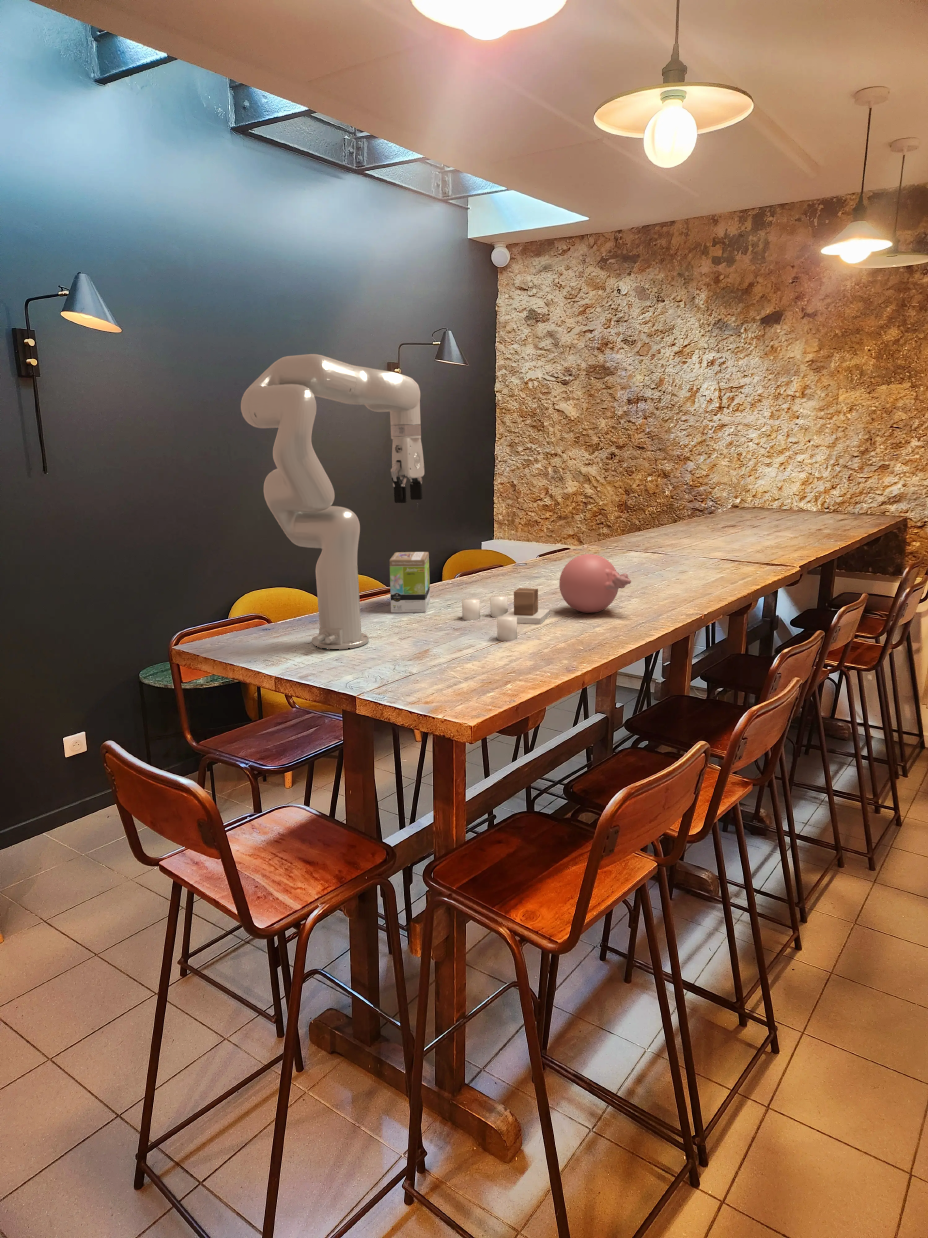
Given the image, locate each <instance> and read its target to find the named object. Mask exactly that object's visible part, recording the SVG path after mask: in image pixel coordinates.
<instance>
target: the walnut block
mask: <svg viewBox="0 0 928 1238" xmlns="http://www.w3.org/2000/svg"><path fill="white" fill-rule="evenodd" d="M513 608H514V615H528V616H533V615H535V614H536V613H537V612H538V609H539V589H538V588H533V587H532V588H530V587H529V588H528V587H519V588H517V589H515V590H514V591H513Z"/></svg>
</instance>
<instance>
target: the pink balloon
mask: <svg viewBox="0 0 928 1238" xmlns="http://www.w3.org/2000/svg"><path fill="white" fill-rule="evenodd" d="M559 576H560V577H559V591H560V594H561V597H562V599H563V600H564V602H565V603H566V604H567V606H569V607H571V609H573V610H575V611H577V612H580V613H584V614H594V613H598V612H602V610H605V609H606V608H608V607H609V606H610V605H612V603H613V602H614V600H616V598H617V594H618V592H619V589H624V588H626V586H627V585H630V584H631V583H632V581H631V579H630V578H629V574H628V573H622V574H620V573H619V572H618V571H617V569H616V568H615V566H614V565H613V564H612V563H611V561H609V560H608V559H606V558H605V557H603V556H601V555H598V554H595V553H594V554H591V553H585V554H580V555H578V556H575V557H574V558H573V559H570V560H569V561H568V562H567V563H566V565H564V567H563V569H562V571H561V572H560V575H559Z"/></svg>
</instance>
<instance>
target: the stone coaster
mask: <svg viewBox="0 0 928 1238" xmlns="http://www.w3.org/2000/svg"><path fill="white" fill-rule="evenodd" d="M504 615H511V616H516V617H517V624H531V625H541V624H542V623H544V620H545V619H546V620H547V619H548V618H549V617H550V616H551V609H541V608H538V612H537V613H536V614H535V615H533V616H528V615H514V607H513V608H511V609H510V610H508V612H507V613H506V614H504ZM549 615H550V616H549ZM548 616H549V617H548ZM547 617H548V618H547ZM546 620H545V621H546Z"/></svg>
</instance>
